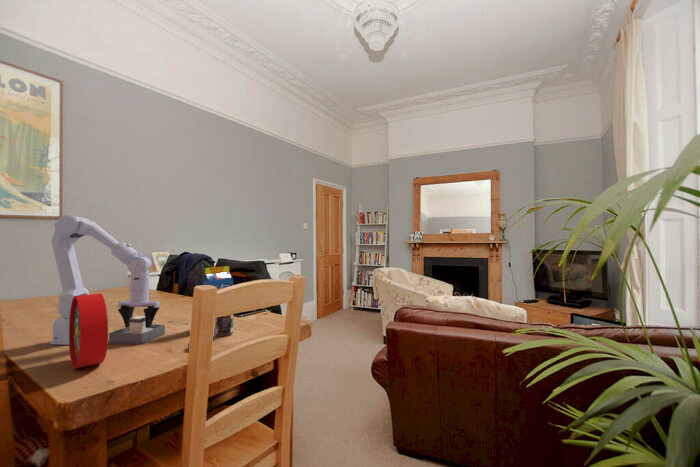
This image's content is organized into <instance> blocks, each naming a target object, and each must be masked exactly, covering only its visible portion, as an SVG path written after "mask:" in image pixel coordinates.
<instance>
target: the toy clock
mask: <svg viewBox="0 0 700 467" xmlns="http://www.w3.org/2000/svg"><path fill="white" fill-rule="evenodd" d="M108 344H109V315H108V307H107V302H106V297H105V296H104V294H103V293H101V292H100V293H91V294H90V293H89V295H78V296H74V297H73V300H72V303H71V310H70V321H69V347H68V348H69V357H70V363H71V366H72V369H73V370H76V369H81V368H85V367H90V366H95V365H98V364H102V363H103V362H104V361H105V358H106V356H107V351H108Z"/></svg>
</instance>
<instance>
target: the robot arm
mask: <svg viewBox="0 0 700 467" xmlns="http://www.w3.org/2000/svg"><path fill="white" fill-rule="evenodd" d="M53 226H54V232H53V235H52V238H51V245H52V250H53V254H54V259H55V263H56V268H57V272H58V275H59V276H58V277H59V279H60V285H61V288H62V292H61V293H60V295H59V297H58V301H59V302H58V305H57V311H58V312H57V313H58V314H59V315H60V316H59V317H58V318H56V319H55V320H54V322H53V324H52V341H51V342H49V345H63V346H64V345H65V346H66V345H67V346H68V345H69V321H70V310H71V303H72V300H73V297H74V296H78V295H89V294H90V291H89V290H88V289H87V288H86V287H85V286H84V284H83V280H82V275H81V270H80V266H79V263H78V258H77V253H76V251H75V246H74V244H76V243H77V241H79V240H80V238H83V237H84V236H88V237H89V236H90V237H92V238H93V239H95V240H96V241H98V242H100V243H101V244H103V246H105V247H107V248H108V249H110V251H111V256H113V257H115V258H116V259H117V260H118V261H120V262H121V263H123V264H124V265H125V266H126V267H127V269H128V271H129V272H130V282H129V283H130V285H129V286H130V287H129V288H130V289H129V300H120V301H118V302H117V308H118V309H117V312H119V314H120V315H121V318H122V320H123V323H124V326H125V327H129V325H130V322H129V319H130V318H133V314H134V310H135V308H144V309H143V313H144V316H145V326H146V328H149V327H151V325H152V324H153V322H154V319H155V316H156V315H157V312H158V311H159V309H160V307H161V301H157V300H156V301H155V300H149V296H150V294H149V293H150V270H151V269H152V267H153V261H152V260H151V258H150V257H149V256H146V255H145V256H144V255H143V253H142V252H138V251H137V250H136V249H135V248H133V247H132V246H133V245H132V244H130V243H126V242H119V241H118V240H117V239H115V238H114V237H113V236H112V235H111V234H109V232H106V231H105V230H104V229H103V228H102V227H101V226H99V224H98V223H97V222H95V221H93V220H92V219H90V218H88V217H83V216H74V215H67V214H66V215H62V216H61V217H60V218H59V219H58V220H56V221H55V222H54V224H53ZM125 327H124V328H125Z"/></svg>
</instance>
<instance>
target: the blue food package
mask: <svg viewBox="0 0 700 467" xmlns="http://www.w3.org/2000/svg"><path fill="white" fill-rule="evenodd" d="M204 269H205V271H204V272H205V274H204V276H203V277H202V279H201V281H200V284H199V285H213V286H216V287H217V288H218V289H222V288H225V287H228V286H232V285H234V284H235V283H234V279H233V276H232V275H231V273H230V266H229V265H227V266H218V267H217V266H213V267H205V268H204ZM216 319H217V318H215V328H216Z"/></svg>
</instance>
